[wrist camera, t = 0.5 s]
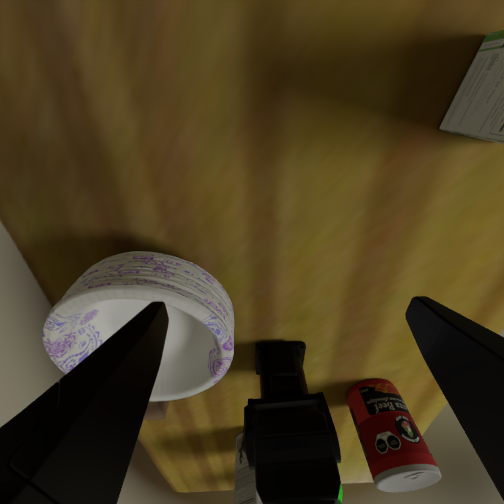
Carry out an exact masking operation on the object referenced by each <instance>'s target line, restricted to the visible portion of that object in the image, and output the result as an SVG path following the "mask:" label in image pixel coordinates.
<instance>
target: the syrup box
mask: <svg viewBox="0 0 504 504" xmlns="http://www.w3.org/2000/svg"><path fill="white" fill-rule="evenodd" d="M439 130H442V131H446V132H451V133H455V134H460V135H464V136H469V137H473V138H478V139H482V140H486V141H492V142H497V143H502V144H504V30H502V31H498V32H493V33H489V34H488V35H487V36H486V37H485V39H484V40H483V43H482V45H481V46H480V48H479V50H478V52H477V54H476V56H475V58H474V60H473V62H472V64H471V66H470V68H469V70H468V72H467V74H466V76H465V77H464V79H463V81H462V83H461V85H460V87H459V89H458V91H457V93H456V95H455V97H454V99H453V101H452V103H451V105H450V107H449V109H448V111H447V113H446V115H445V117H444V119H443V121H442V123H441V125H440V127H439Z"/></svg>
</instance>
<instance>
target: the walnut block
mask: <svg viewBox="0 0 504 504" xmlns="http://www.w3.org/2000/svg"><path fill="white" fill-rule="evenodd" d="M168 404H169V401H149V403H148V406H147V409H146V413H145V416H144V419H143V420H162V419H165V416H166V412H167V408H168Z"/></svg>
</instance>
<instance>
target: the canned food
mask: <svg viewBox="0 0 504 504" xmlns="http://www.w3.org/2000/svg"><path fill="white" fill-rule="evenodd" d="M347 403H348V406H349V409H350V412H351V415H352V418H353V421H354V424H355V427H356V430H357V433H358V436H359V439H360V442H361V445H362V448H363V451H364V454H365V457H366V460H367V463H368V466H369V469H370V472H371V474H372V477H373V480H374V483H375V485H376V487H377V488H378V489H379V490H381V491H386V492H406V491H412V490H417V489H421V488H424V487H428V486H430V485H432V484H434V483H436V482H438V481H439V480H440V479H441V477H442V476H441V473H440V471H439V468H438V466H437V464H436V462H435V461H434V459H433V457H432V454H431V453H430V451H429V449H428V447H427V445H426V443H425V441H424V439H423V438H422V436H421V434H420V432H419V430H418V428H417V426H416V424H415V422H414V421H413V419H412V417H411V415H410V413H409V411H408V409H407V407H406V405H405V404H404V402H403V400H402V398H401V396H400V394H399V392H398V390H397V388H396V387H395V386H394V385H393V384H392V383H391V382H390V381H388V380H384V379H370V380H365V381H362V382H360V383H358V384H356V385H354V386H353V387H352V388H351V389H350V390H349V391H348V393H347Z"/></svg>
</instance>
